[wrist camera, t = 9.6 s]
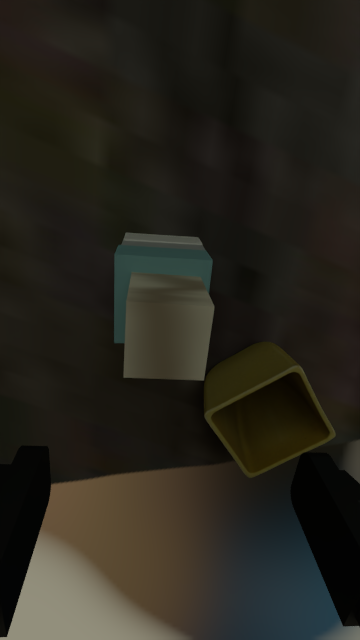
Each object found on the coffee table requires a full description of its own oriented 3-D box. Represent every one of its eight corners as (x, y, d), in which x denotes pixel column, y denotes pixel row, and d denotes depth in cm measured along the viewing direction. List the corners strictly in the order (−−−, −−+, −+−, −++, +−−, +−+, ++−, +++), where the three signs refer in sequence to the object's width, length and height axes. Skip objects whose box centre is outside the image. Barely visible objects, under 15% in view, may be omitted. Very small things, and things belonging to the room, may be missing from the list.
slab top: (206, 250, 25) (212, 260, 23) (197, 328, 28) (202, 345, 25) (118, 244, 25) (114, 254, 22) (117, 325, 27) (114, 342, 25)
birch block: (200, 276, 23) (214, 306, 18) (192, 337, 25) (203, 380, 20) (131, 271, 23) (126, 301, 18) (129, 334, 24) (123, 377, 19)
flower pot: (189, 359, 36) (201, 415, 28) (264, 317, 35) (300, 364, 26) (228, 415, 39) (248, 480, 31) (297, 379, 38) (338, 437, 30)
